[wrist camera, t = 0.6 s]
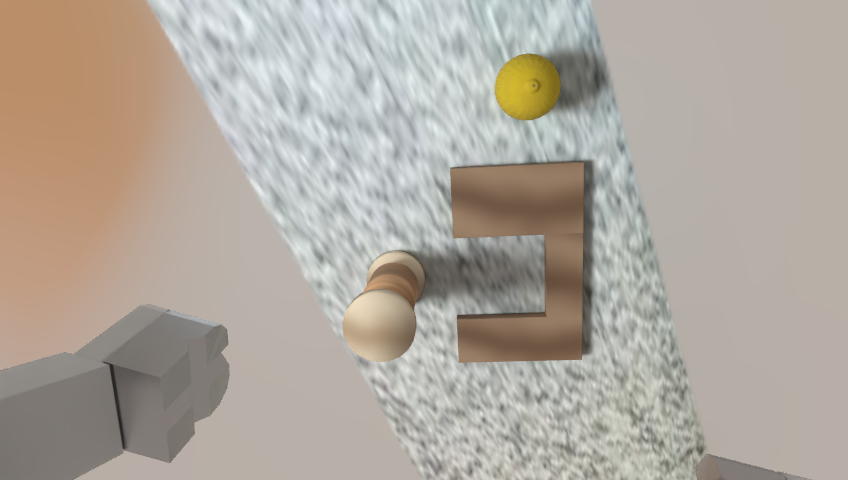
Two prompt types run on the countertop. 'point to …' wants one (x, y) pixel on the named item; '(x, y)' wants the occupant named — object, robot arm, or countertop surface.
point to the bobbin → (385, 308)
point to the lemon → (527, 87)
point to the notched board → (563, 227)
